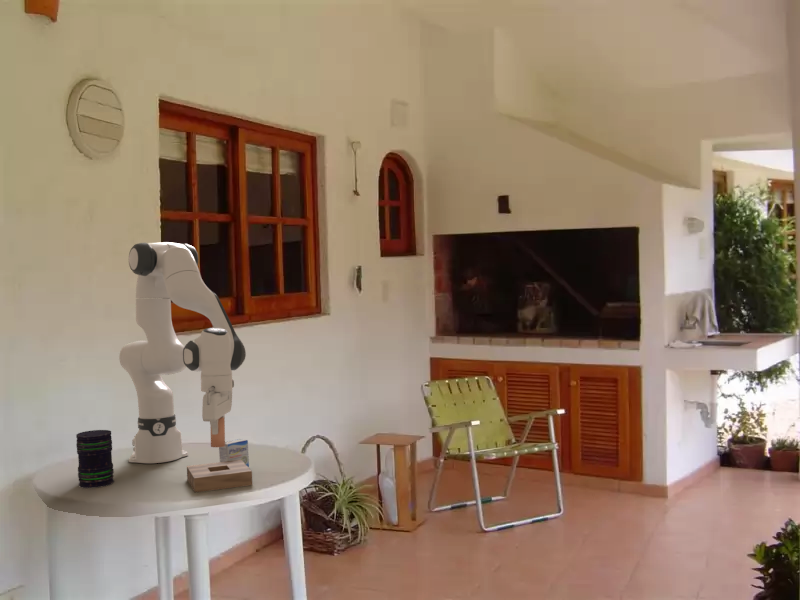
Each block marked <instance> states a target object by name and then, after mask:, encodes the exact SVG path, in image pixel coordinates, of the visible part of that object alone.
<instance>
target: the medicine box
mask: <svg viewBox="0 0 800 600" xmlns="http://www.w3.org/2000/svg"><path fill="white" fill-rule="evenodd" d="M218 450H219V451H218V452H219V462H225V461H234V460H242V461H243V462H244V463H245V464H246V465H247V466H248V468H249V467H250V463H249V462H250V459H249V440H248V439H244V438H238V439H234V440H228V441H225V446H224V447H218Z"/></svg>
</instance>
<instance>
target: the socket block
mask: <svg viewBox="0 0 800 600" xmlns="http://www.w3.org/2000/svg"><path fill="white" fill-rule="evenodd" d="M186 474H187V475H186V479H187V481H188V483H189V485H190V487H191V489H192V490H193V491H194V493H201V492H211V491H218V490H224V489H231V488H241V487H247V486H253V470H251V468H249V467H248V466H247V465H246V464H245V463H244V462H243V461H242V460H234V461H225V462H220V461H219V462H209V463H203V464H193V465H187V466H186Z"/></svg>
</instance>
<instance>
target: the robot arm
mask: <svg viewBox="0 0 800 600" xmlns="http://www.w3.org/2000/svg"><path fill="white" fill-rule="evenodd" d="M128 265H129V266H128V267H129V268H130V270H131V271H132V273H134V274H135V275H137V280H136V288H135V321H136V324H137V325H138V326H139V327H140V328H141V329H142V330H143V332H144V333H145V336H146V339H147V340H136V341H132V342H129V343H126V344H124V345H123V346H122V347H121V350H120V352H119V356H118V357H119V359H118V360H119V363H120V366H121V368H122V369H124V371H126V372H127V374H128V375H129V377H130V378H131V381H132V382H133V384H134V388H135V390H136V396H137V403H138V407H137V408H138V418H137V428H138V431H137V433H135V435H134V437H133V439H132V441H131V443H132V444H131V445H132V448H133V449H132V450H133V452H132V454H131V455H130V456H129V458H128V462H129V463H139V464H157V463H158V464H160V463H167V462H172V461H176V460H179V459H181V458H184V457H187V456H189V452H188V451H186V450H184V449H183V441H182V440H183V439H182V431H180V430H179V429H178V428H177V427H176V426H177V419H176V414H175V410H174V409H175V408H174V407H175V406H174V394H173V389H171V388H170V386H168V385H167V384H166V383H165V381H164V378H163V377H162V375H165V376H168V375H174V374H179V373H181V372H183V371H184V370H185V369H186V368H187V369H188V370H190V371H192V372H200V392H202V393H205V394H203V397H202V406H201V407H202V408H201V409H202V410H201V412H202V420H203V421H202V422H208V423H209V425H211V426H210V429H211V428H212V434H213V435H214V434H218V433H219V427H218V419H219V418H221V417H223V418H226V417H225V416H226V415H227V414H228V413H230V412H231V410H232V405H233V388H234V387H235V380H234V379H233V371H237V370H238V369H239V368H240V367H241V366H242V365H243V364H244V362H245V360H246V356H247V355H246V354H247V353H246V347H245V346H244V343H243V342H242V340H241V339H240V337H239V336H238V334H237V333H236V331H235V329H234V326H233V325H232V322H231V320H230V318H229V316H228V314H227V312H226V310H225V307H224V306H223V304H222V302H221V300H220V298H219V296H218V295H217V294H216V293H215V292H214V291H212V290H211V289H210V288H209V287H208V286H207V285H206V284H205V282H204V280H203V279H202V275H201V272H200V269H199V267H198V266H199V254H198V251H197V249H196V248H195V247H194V246H192V245H190V244H188V243H177V242H169V241H163V242H148V243H147V242H139V243H134V244H133V246H131V248H130V251H129V254H128ZM172 303H173V304H175V305H176V306H177V307H179V308H182V309H184V310H185V309H186V310H189V311H193V312H196V313H199V314H201V315H203V316H205V317H206V318H207V319H209V321H210V323H211V325H212V327H209V328H205V329H203V330H202V331H201V333H200V335H199V336H198V337H196V338H195V339H192V340H188V342H187V343H186V344H183V343H182V342H181V341H180V340H179V338H178V336H177V334H176V331H175V329H174V326H173V321H172Z"/></svg>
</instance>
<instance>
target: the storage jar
mask: <svg viewBox="0 0 800 600" xmlns="http://www.w3.org/2000/svg"><path fill="white" fill-rule="evenodd" d="M75 436H76V454H77V455H78V457H77V458H78V467H77V472H78V473H77V478H78V481H79V483H78V487H79V486H80V487H79V488H82V487H83V489H93V488H95V489H97V488H102V487H101V486H103V487H107V486H110V485H112V484H113V483H114V482H115V479H114V472H115V471H114V463H113V460H112V459H113V457H112V456H113V455H112V451H113V439H112V431H111V430H109V429H94V430H86V431H82V432H78V433H76V434H75ZM106 485H107V486H106Z"/></svg>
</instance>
